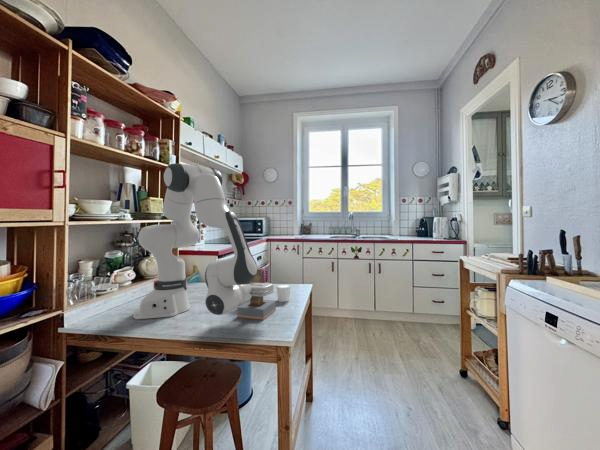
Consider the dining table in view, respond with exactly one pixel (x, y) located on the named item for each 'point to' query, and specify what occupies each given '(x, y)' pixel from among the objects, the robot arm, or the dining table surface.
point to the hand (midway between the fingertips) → (257, 283)
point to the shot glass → (283, 292)
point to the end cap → (256, 310)
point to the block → (257, 299)
